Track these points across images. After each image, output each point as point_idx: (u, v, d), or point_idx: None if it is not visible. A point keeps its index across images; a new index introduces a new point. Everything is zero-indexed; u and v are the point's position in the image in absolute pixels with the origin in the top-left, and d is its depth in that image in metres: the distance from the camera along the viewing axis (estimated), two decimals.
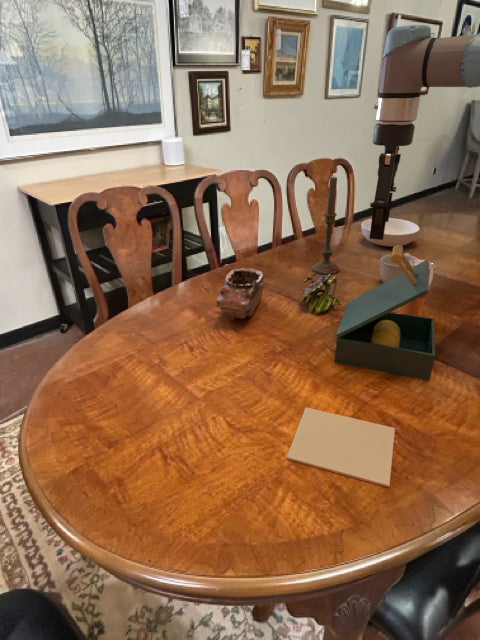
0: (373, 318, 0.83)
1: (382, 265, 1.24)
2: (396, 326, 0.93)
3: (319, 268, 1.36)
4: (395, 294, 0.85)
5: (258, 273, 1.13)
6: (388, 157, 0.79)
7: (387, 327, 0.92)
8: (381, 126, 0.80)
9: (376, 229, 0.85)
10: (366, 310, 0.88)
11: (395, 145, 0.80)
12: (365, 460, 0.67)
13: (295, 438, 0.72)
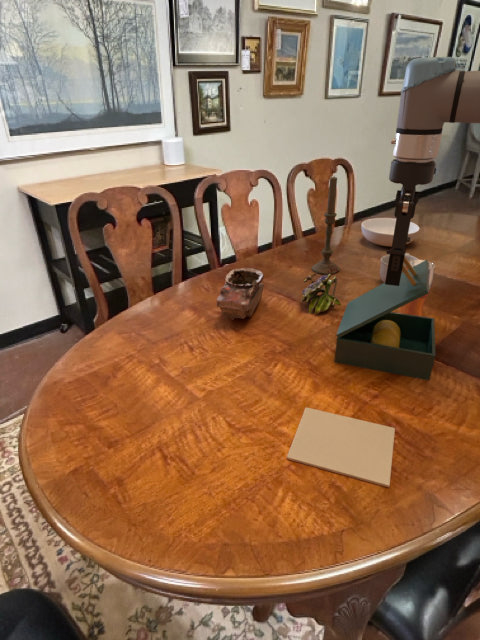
0: (373, 318, 0.83)
1: (382, 265, 1.24)
2: (396, 326, 0.93)
3: (319, 268, 1.36)
4: (395, 294, 0.85)
5: (258, 273, 1.13)
6: (406, 206, 0.73)
7: (387, 327, 0.92)
8: (399, 163, 0.73)
9: (392, 275, 0.82)
10: (366, 310, 0.88)
11: (414, 184, 0.73)
12: (365, 460, 0.67)
13: (295, 438, 0.72)
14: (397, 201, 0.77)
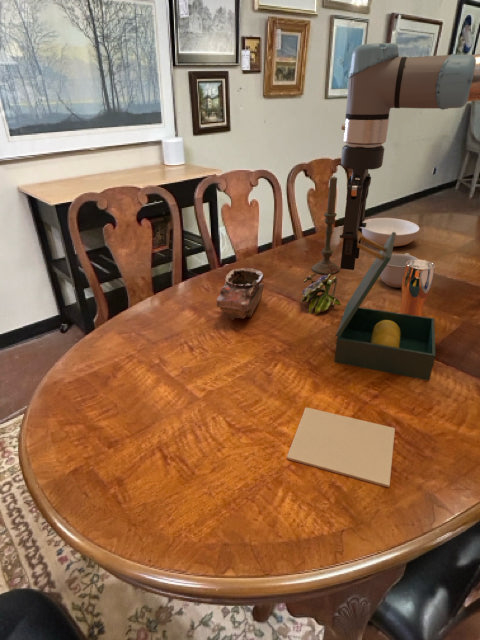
0: (358, 305, 0.83)
1: None
2: (396, 326, 0.93)
3: (319, 268, 1.36)
4: (371, 274, 0.85)
5: (258, 273, 1.13)
6: (354, 190, 0.75)
7: (387, 327, 0.92)
8: (348, 148, 0.75)
9: (347, 259, 0.84)
10: (354, 301, 0.88)
11: (363, 169, 0.75)
12: (365, 460, 0.67)
13: (295, 438, 0.72)
14: None
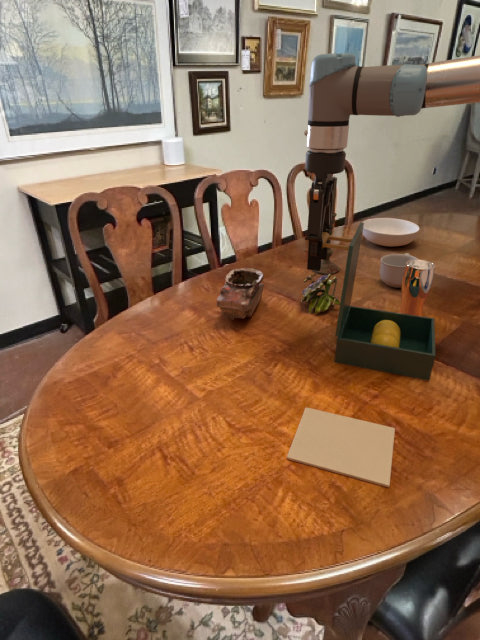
0: (343, 300, 0.84)
1: (382, 265, 1.24)
2: (396, 326, 0.93)
3: None
4: None
5: (258, 273, 1.13)
6: (316, 194, 0.77)
7: (387, 327, 0.92)
8: (311, 154, 0.78)
9: (313, 260, 0.87)
10: None
11: (325, 173, 0.78)
12: (365, 460, 0.67)
13: (295, 438, 0.72)
14: None
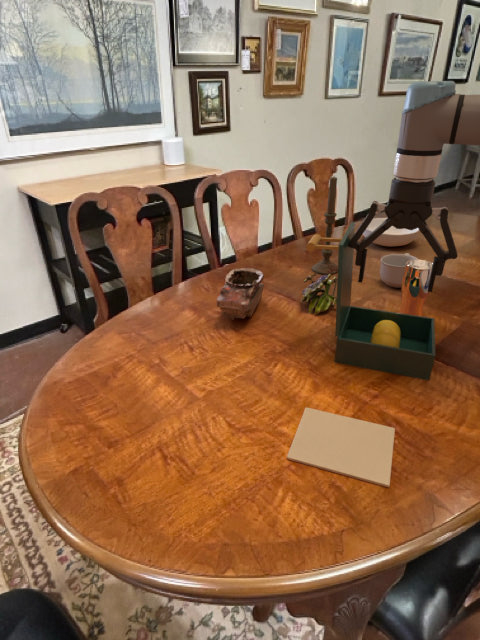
0: (339, 299, 0.84)
1: (382, 265, 1.24)
2: (396, 326, 0.93)
3: (319, 268, 1.36)
4: None
5: (258, 273, 1.13)
6: None
7: (387, 327, 0.92)
8: None
9: None
10: None
11: (389, 198, 0.79)
12: (365, 460, 0.67)
13: (295, 438, 0.72)
14: None
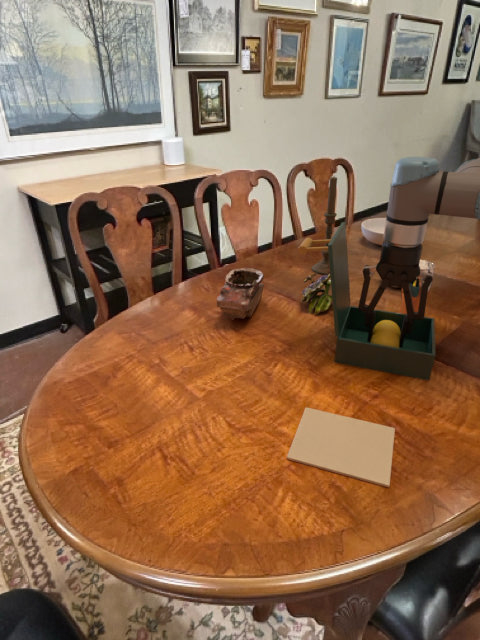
0: (334, 299, 0.84)
1: None
2: (396, 326, 0.93)
3: (319, 268, 1.36)
4: None
5: (258, 273, 1.13)
6: None
7: (387, 327, 0.92)
8: None
9: None
10: None
11: (380, 258, 0.84)
12: (365, 460, 0.67)
13: (295, 438, 0.72)
14: None
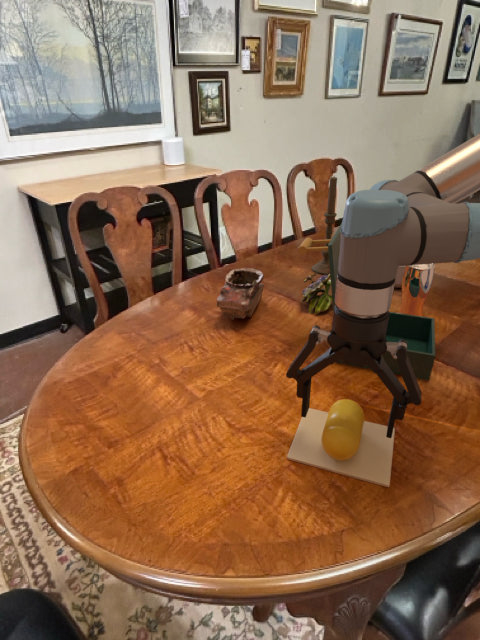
0: (334, 299, 0.84)
1: None
2: (357, 409, 0.70)
3: (319, 268, 1.36)
4: None
5: (258, 273, 1.13)
6: (310, 332, 0.63)
7: (343, 413, 0.68)
8: None
9: None
10: None
11: (332, 328, 0.60)
12: (365, 460, 0.67)
13: (295, 438, 0.72)
14: None
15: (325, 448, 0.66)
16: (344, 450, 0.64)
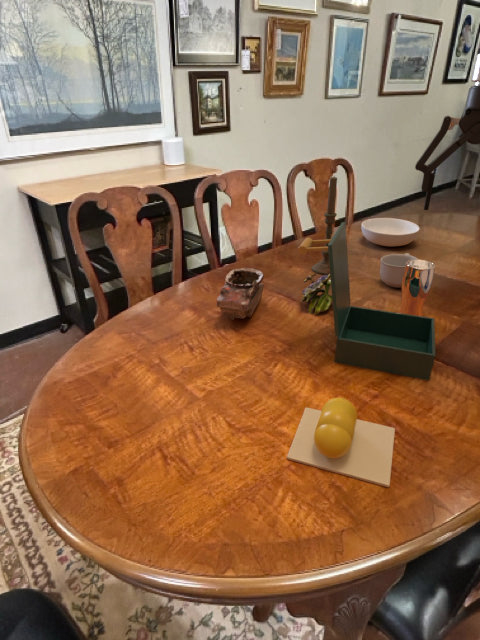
0: (334, 299, 0.84)
1: (382, 265, 1.24)
2: (343, 404, 0.70)
3: (319, 268, 1.36)
4: None
5: (258, 273, 1.13)
6: (443, 119, 0.75)
7: (329, 412, 0.69)
8: None
9: None
10: None
11: (466, 108, 0.72)
12: (365, 460, 0.67)
13: (295, 438, 0.72)
14: None
15: (318, 450, 0.67)
16: (334, 446, 0.64)
